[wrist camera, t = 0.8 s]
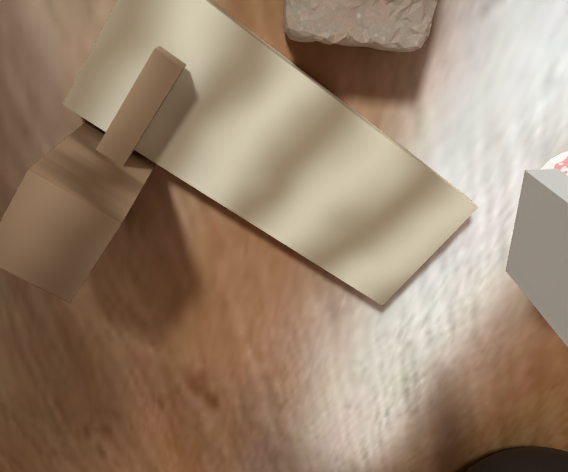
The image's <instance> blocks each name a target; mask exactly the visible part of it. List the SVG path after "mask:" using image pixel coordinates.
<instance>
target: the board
mask: <svg viewBox="0 0 568 472" xmlns="http://www.w3.org/2000/svg"><path fill="white" fill-rule="evenodd" d="M158 46H161V47H162V48H164V49H165V50H166V51H168V52H169V53H171V54H172V55H173V56H175V57H176V58H178V59H179V60H180V61H182V62H183V63H185V64H186V66H185V68H184V70H183V71H182V73H181V75H180V76H179V78H178V79H177V81H176V83H175V84H174V86H173V88H172V89H171V91H170V92H169V94H168V96H167V97H166V99H165V100H164V102H163V104H162V105H161V107H160V109H159V110H158V112H157V113H156V115H155V117H154V118H153V120H152V122H151V123H150V125H149V126H148V128H147V130H146V131H145V133H144V135H143V136H142V138H141V139H140V141H139V143H138V144H137V146H136V148H135V149H134V150H135V151H137V152H138V153H140V154H142V155H143V156H145V157H146V158H148V159H149V160H151V161H153V162H154V163H156V164H157V165H159V166H161V167H162V168H164V169H165V170H167V171H169V172H170V173H172V174H173V175H175V176H177V177H178V178H180V179H181V180H183V181H184V182H186V183H188V184H189V185H191V186H192V187H194V188H196V189H197V190H199V191H200V192H202V193H204V194H205V195H207V196H208V197H210V198H212V199H213V200H215V201H216V202H218V203H220V204H221V205H223V206H224V207H226V208H227V209H229V210H231V211H232V212H234V213H235V214H237V215H239V216H240V217H242V218H243V219H245V220H247V221H248V222H250V223H251V224H253V225H255V226H256V227H258V228H259V229H261V230H262V231H264V232H266V233H267V234H269V235H270V236H272V237H274V238H275V239H277V240H278V241H280V242H282V243H283V244H285V245H286V246H288V247H290V248H291V249H293V250H294V251H296V252H297V253H299V254H301V255H302V256H304V257H305V258H307V259H309V260H310V261H312V262H313V263H315V264H317V265H318V266H320V267H321V268H323V269H325V270H326V271H328V272H329V273H331V274H333V275H334V276H336V277H337V278H339V279H340V280H342V281H344V282H345V283H347V284H348V285H350V286H352V287H353V288H355V289H356V290H358V291H360V292H361V293H363V294H364V295H366V296H368V297H369V298H371V299H372V300H374V301H375V302H377V303H379V304H380V305H382V306H383V305H384V304H385V303H386V302H387V301H388V300H389V299H390V298H391V297H392V295H393V294H394V293H395V292H396V291H397V290H398V289H399V288H400V287H401V286H402V285H403V284H404V283H405V282H406V281H407V280H408V279H409V278H410V277H411V276H412V275H413V274H414V273H415V272H416V271H417V270H418V269H419V268H420V267H421V266H422V265H423V264H424V263H425V262H426V261H427V260H428V259H429V258H430V257H431V256H432V254H433V253H434V252H435V251H436V250H437V249H438V248H439V247H440V246H441V245H442V244H443V243H444V242H445V241H446V240H447V239H448V238H449V237H450V236H451V235H452V234H453V233H454V232H455V231H456V230H457V229H458V228H459V227H460V226H461V225H462V224H463V223H464V222H465V221H466V220H467V219H468V218H469V217H470V216H471V215H472V213H473V212H474V211H475V210H476V209H477V208H478V207H477V206H476V205H475V204H474V203H473V202H472V201H471V200H470V199H469V198H468V197H467V196H466V195H465V194H464V193H462V192H461V191H460V190H458V189H457V188H456V187H454V186H453V185H452V184H450V183H449V182H448V181H447V180H445V179H444V178H443V177H441V176H440V175H439V174H437V173H436V172H435V171H433V170H432V169H431V168H430V167H428V166H427V165H426V164H424V163H423V162H422V161H420V160H419V159H418V158H416V157H415V156H414V155H413V154H411V153H410V152H409V151H407V150H406V149H405V148H403V147H402V146H401V145H400V144H398V143H397V142H396V141H394V140H393V139H392V138H390V137H389V136H388V135H386V134H385V133H384V132H383V131H381V130H380V129H379V128H377V127H376V126H375V125H373V124H372V123H371V122H369V121H368V120H367V119H366V118H364V117H363V116H362V115H360V114H359V113H358V112H356V111H355V110H354V109H352V108H351V107H350V106H349V105H347V104H346V103H345V102H343V101H342V100H341V99H339V98H338V97H337V96H335V95H334V94H333V93H332V92H330V91H329V90H328V89H326V88H325V87H324V86H322V85H321V84H320V83H318V82H317V81H316V80H315V79H313V78H312V77H311V76H309V75H308V74H307V73H305V72H304V71H303V70H301V69H300V68H299V67H298V66H296V65H295V64H294V63H292V62H291V61H290V60H288V59H287V58H286V57H284V56H283V55H282V54H281V53H279V52H278V51H277V50H275V49H274V48H273V47H271V46H270V45H269V44H267V43H266V42H265V41H264V40H262V39H261V38H260V37H258V36H257V35H256V34H254V33H253V32H252V31H250V30H249V29H248V28H247V27H245V26H244V25H243V24H241V23H240V22H239V21H237V20H236V19H235V18H233V17H232V16H231V15H230V14H228V13H227V12H226V11H224V10H223V9H222V8H220V7H219V6H218V5H216V4H215V3H214V2H213V1H211V0H117V2H116V4H115V6H114V8H113V10H112V12H111V14H110V16H109V17H108V19H107V21H106V23H105V25H104V27H103V29H102V31H101V33H100V34H99V36H98V38H97V40H96V42H95V44H94V46H93V48H92V50H91V51H90V53H89V55H88V57H87V59H86V61H85V63H84V65H83V66H82V68H81V70H80V72H79V74H78V76H77V78H76V80H75V82H74V83H73V85H72V87H71V89H70V91H69V93H68V95H67V97H66V99H65V100H64V102H63V104H62V105H64V106H65V107H67V108H68V109H70V110H71V111H73V112H75V113H76V114H78V115H79V116H81V117H83V118H84V119H86V120H87V121H89V122H91V123H92V124H94V125H95V126H97V127H99V128H100V129H102V130H103V131H105V132H106V131H107V129H108V128H109V126H110V124H111V122H112V121H113V119H114V117H115V116H116V114H117V112H118V110H119V109H120V107H121V105H122V104H123V102H124V100H125V98H126V97H127V95H128V93H129V92H130V90H131V88H132V86H133V85H134V83H135V81H136V79H137V78H138V76H139V74H140V73H141V71H142V69H143V67H144V66H145V64H146V62H147V61H148V59H149V57H150V55H151V54H152V52H153V50H154V49H155V48H156V47H158Z"/></svg>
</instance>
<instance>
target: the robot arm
mask: <svg viewBox="0 0 568 472" xmlns="http://www.w3.org/2000/svg"><path fill="white" fill-rule="evenodd" d="M506 272H507V273H508V274H509V275H510V276H511V278H512V279H513V280H514V281H515V283H516V284H517V285H518V286H519V288H520V289H521V290H522V291H523V293H524V294H525V295H526V296H527V297H528V299H529V300H530V301H531V302H532V304H533V305H534V306H535V307H536V309H537V310H538V311H539V312H540V314H541V315H542V316H543V317H544V318H545V320H546V321H547V322H548V323H549V325H550V326H551V327H552V328H553V330H554V331H555V332H556V333H557V335H558V336H559V337H560V338H561V340H562V341H563V342H564V343H565V344H566V346H567V347H568V175H566V174H565V173H563V172H562V171H560V170H559V169H542V170H525V173H524V178H523V184H522V189H521V194H520V199H519V204H518V210H517V215H516V220H515V225H514V230H513V235H512V241H511V246H510V251H509V256H508V261H507V266H506Z"/></svg>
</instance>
